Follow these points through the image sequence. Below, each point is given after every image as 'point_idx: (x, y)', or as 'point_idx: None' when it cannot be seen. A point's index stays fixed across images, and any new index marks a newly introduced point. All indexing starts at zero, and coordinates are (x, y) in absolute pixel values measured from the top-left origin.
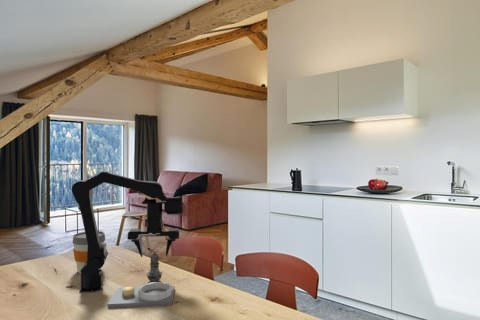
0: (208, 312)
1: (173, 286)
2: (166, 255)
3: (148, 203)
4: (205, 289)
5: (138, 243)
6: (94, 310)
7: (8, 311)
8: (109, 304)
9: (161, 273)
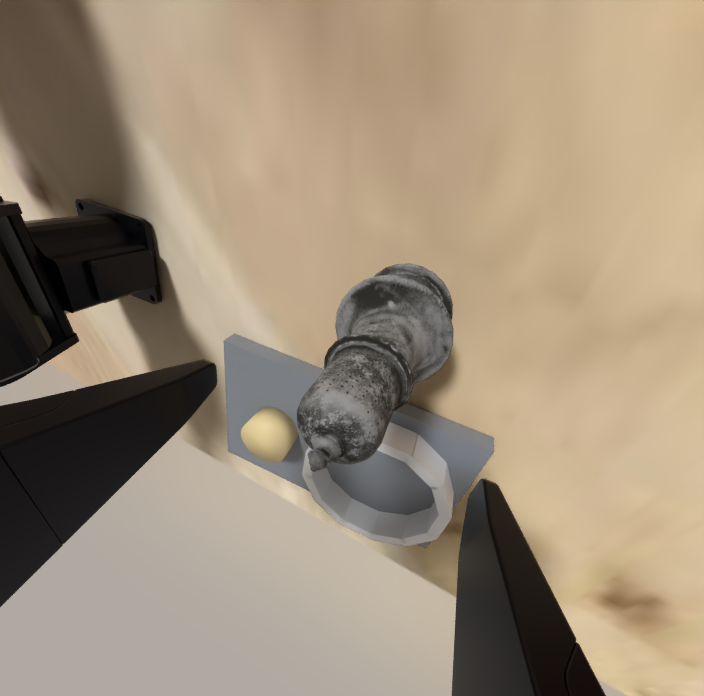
0: None
1: (484, 455)
2: (472, 515)
3: None
4: (669, 526)
5: (21, 570)
6: (207, 436)
7: None
8: (233, 452)
9: (440, 359)
